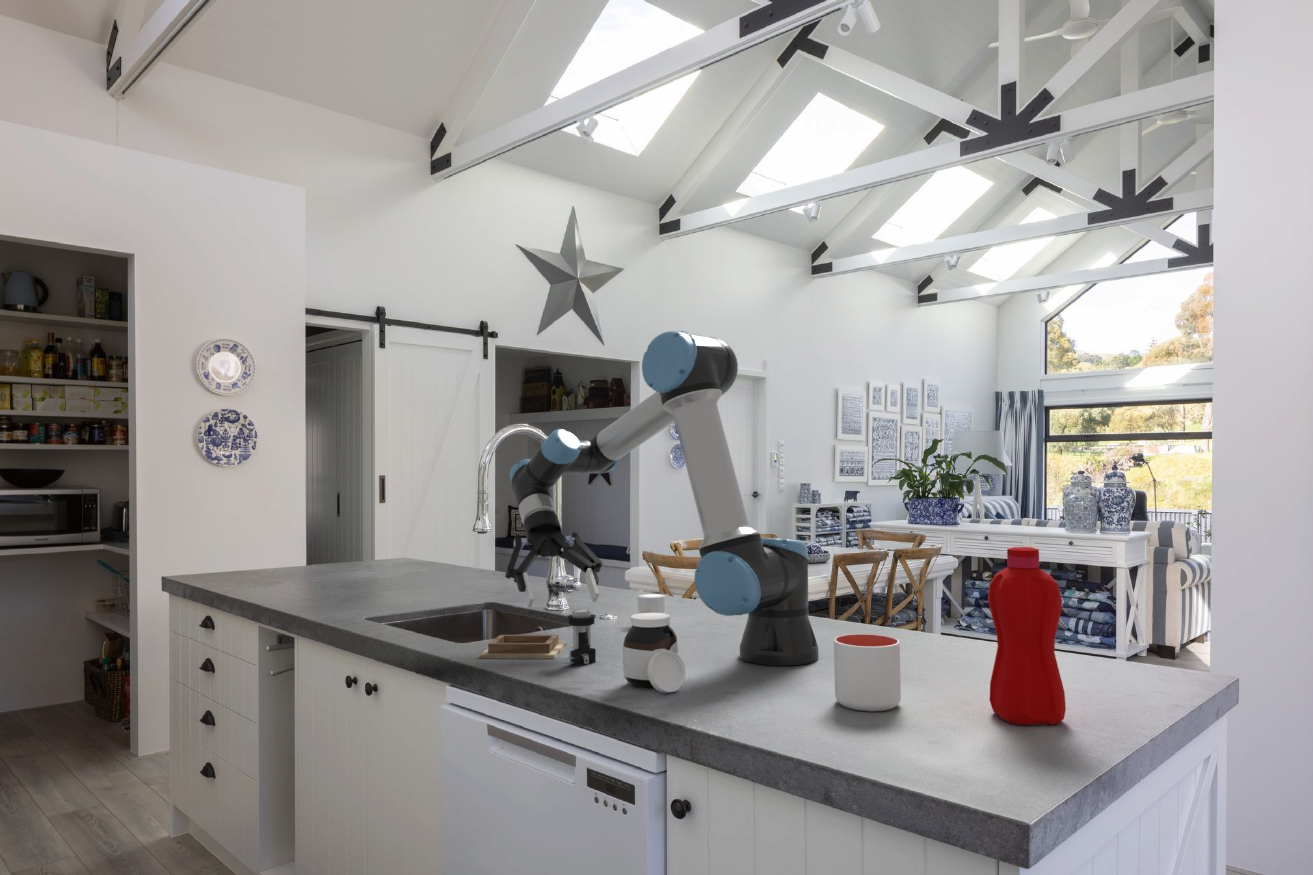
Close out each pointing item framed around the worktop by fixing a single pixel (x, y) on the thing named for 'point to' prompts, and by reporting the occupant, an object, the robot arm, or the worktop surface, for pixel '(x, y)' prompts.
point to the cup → (867, 672)
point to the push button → (581, 637)
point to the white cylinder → (651, 603)
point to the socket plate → (524, 646)
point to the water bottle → (1026, 642)
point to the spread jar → (652, 654)
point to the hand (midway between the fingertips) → (564, 600)
